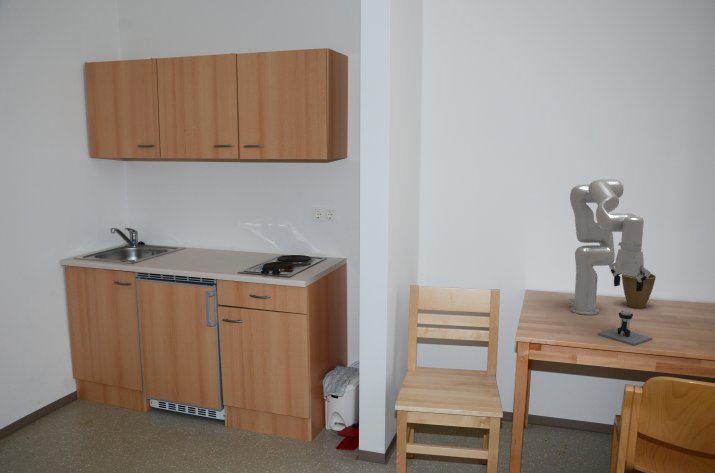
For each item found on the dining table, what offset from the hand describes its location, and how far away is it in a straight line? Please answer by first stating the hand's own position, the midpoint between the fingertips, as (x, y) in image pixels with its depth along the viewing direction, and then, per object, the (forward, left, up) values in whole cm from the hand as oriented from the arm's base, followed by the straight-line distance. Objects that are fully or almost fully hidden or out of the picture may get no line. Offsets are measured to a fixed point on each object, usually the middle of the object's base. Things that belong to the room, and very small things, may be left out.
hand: (627, 288), depth 236 cm
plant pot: (-23, +46, -21) cm, 56 cm away
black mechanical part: (-1, 0, -20) cm, 20 cm away
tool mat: (0, 0, -21) cm, 21 cm away
